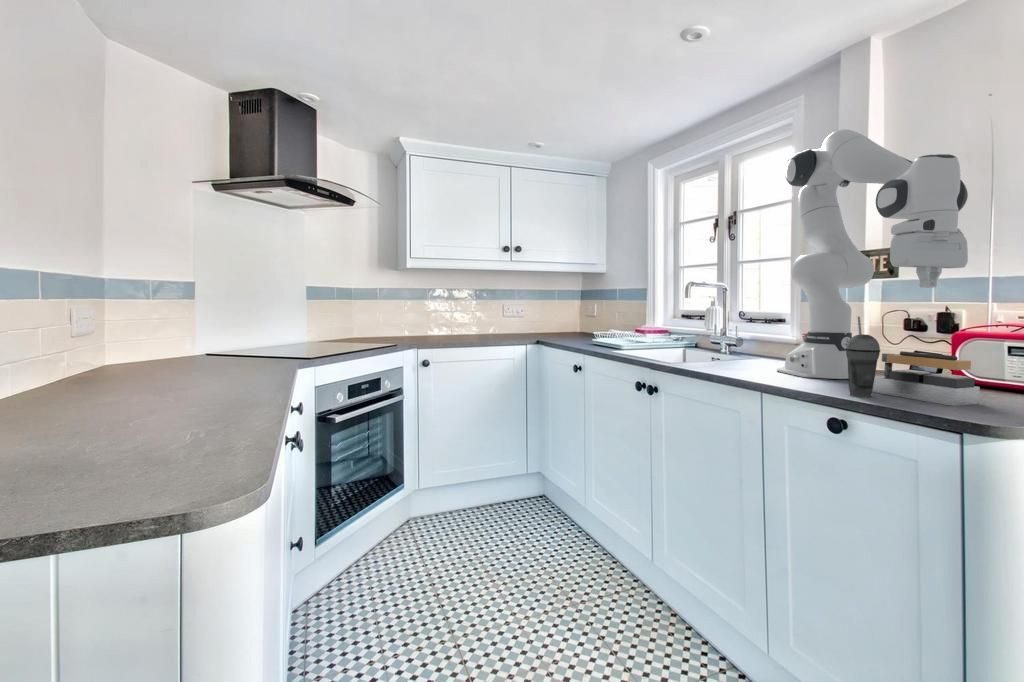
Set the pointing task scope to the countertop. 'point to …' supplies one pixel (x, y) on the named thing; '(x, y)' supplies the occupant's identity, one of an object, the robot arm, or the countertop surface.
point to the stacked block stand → (927, 386)
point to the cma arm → (927, 360)
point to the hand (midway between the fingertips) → (927, 287)
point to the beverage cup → (862, 363)
